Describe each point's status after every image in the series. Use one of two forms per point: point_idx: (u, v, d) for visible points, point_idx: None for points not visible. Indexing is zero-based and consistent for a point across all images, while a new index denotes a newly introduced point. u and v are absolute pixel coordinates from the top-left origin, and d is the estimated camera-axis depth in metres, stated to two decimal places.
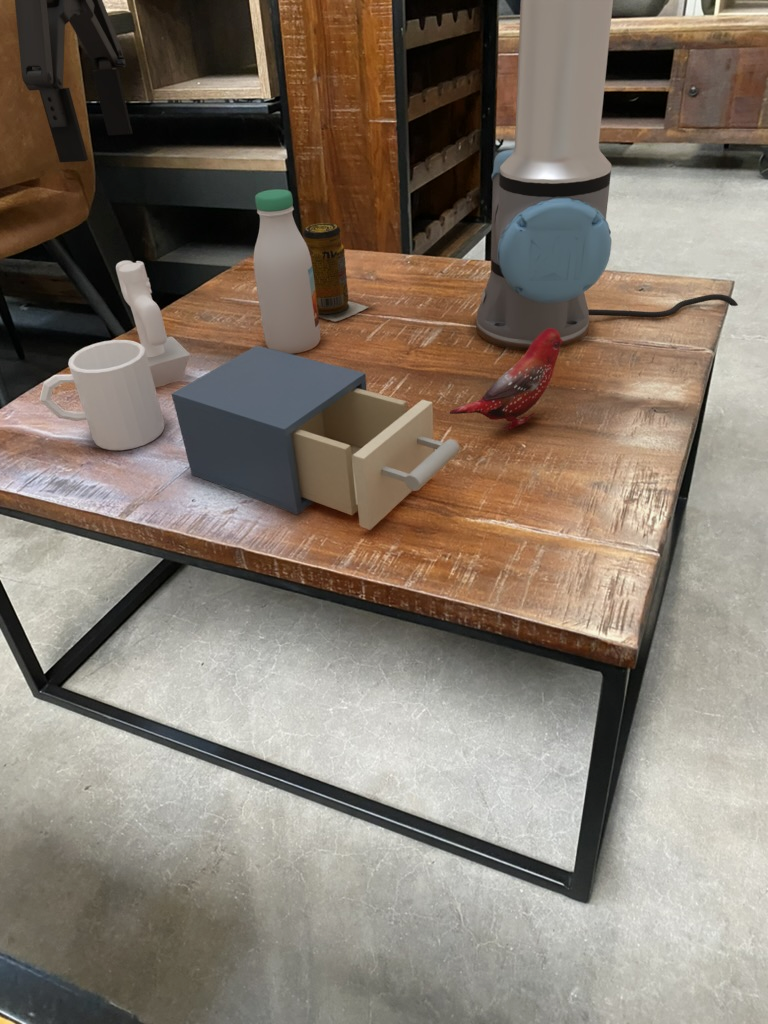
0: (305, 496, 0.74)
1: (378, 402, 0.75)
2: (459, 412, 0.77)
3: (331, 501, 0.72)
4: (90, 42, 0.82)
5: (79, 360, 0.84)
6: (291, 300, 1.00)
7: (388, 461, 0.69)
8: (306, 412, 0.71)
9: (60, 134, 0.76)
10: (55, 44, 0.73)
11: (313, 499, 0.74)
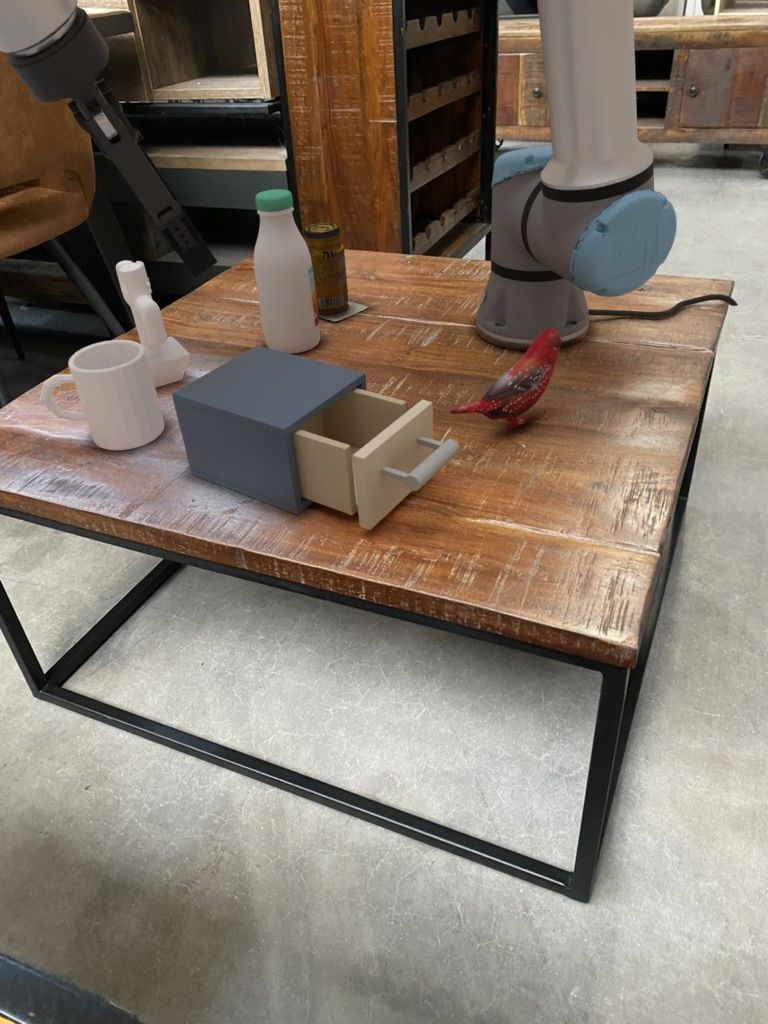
0: (305, 496, 0.74)
1: (378, 402, 0.75)
2: (459, 412, 0.77)
3: (331, 501, 0.72)
4: None
5: (79, 360, 0.84)
6: (291, 300, 1.00)
7: (388, 461, 0.69)
8: (306, 412, 0.71)
9: (188, 252, 0.72)
10: None
11: (313, 499, 0.74)
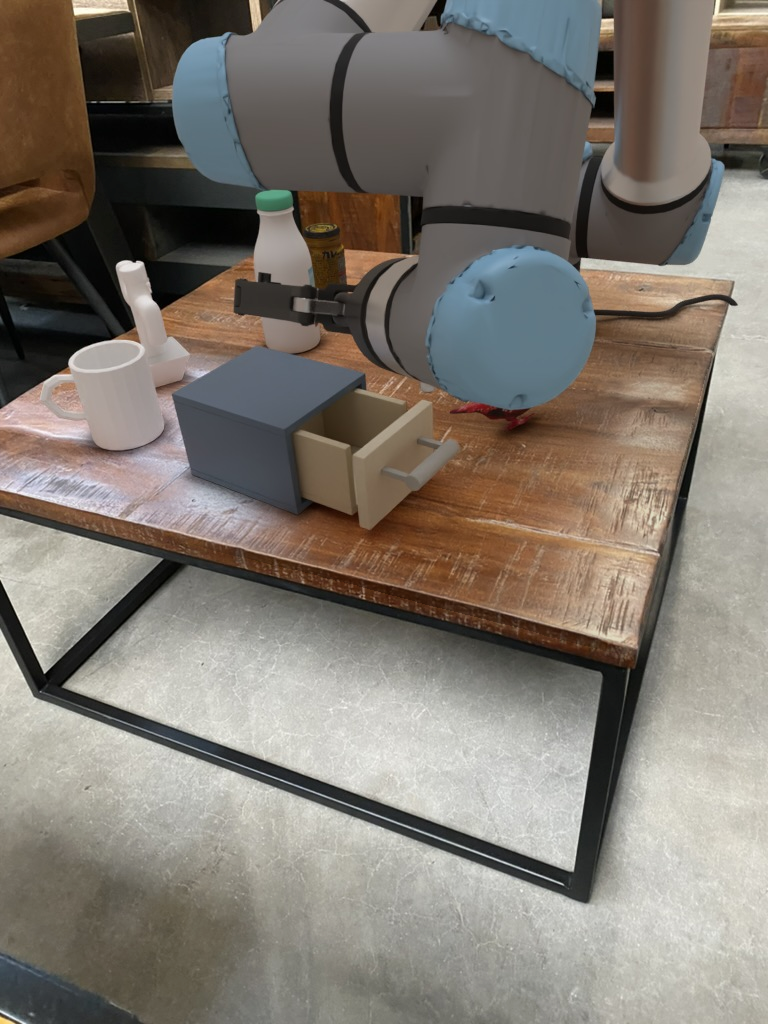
0: (305, 496, 0.74)
1: (378, 402, 0.75)
2: (459, 412, 0.77)
3: (331, 501, 0.72)
4: None
5: (79, 360, 0.84)
6: None
7: (388, 461, 0.69)
8: (306, 412, 0.71)
9: None
10: None
11: (313, 499, 0.74)
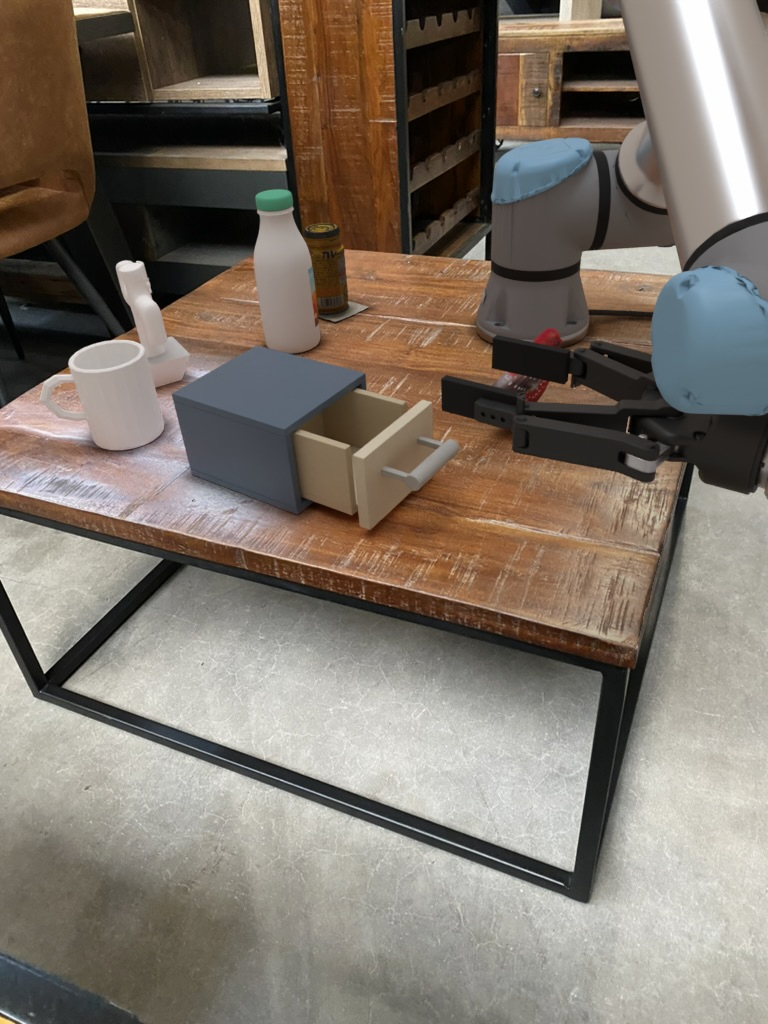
0: (305, 496, 0.74)
1: (378, 402, 0.75)
2: None
3: (331, 501, 0.72)
4: None
5: (79, 360, 0.84)
6: (291, 300, 1.00)
7: (388, 461, 0.69)
8: (306, 412, 0.71)
9: None
10: None
11: (313, 499, 0.74)
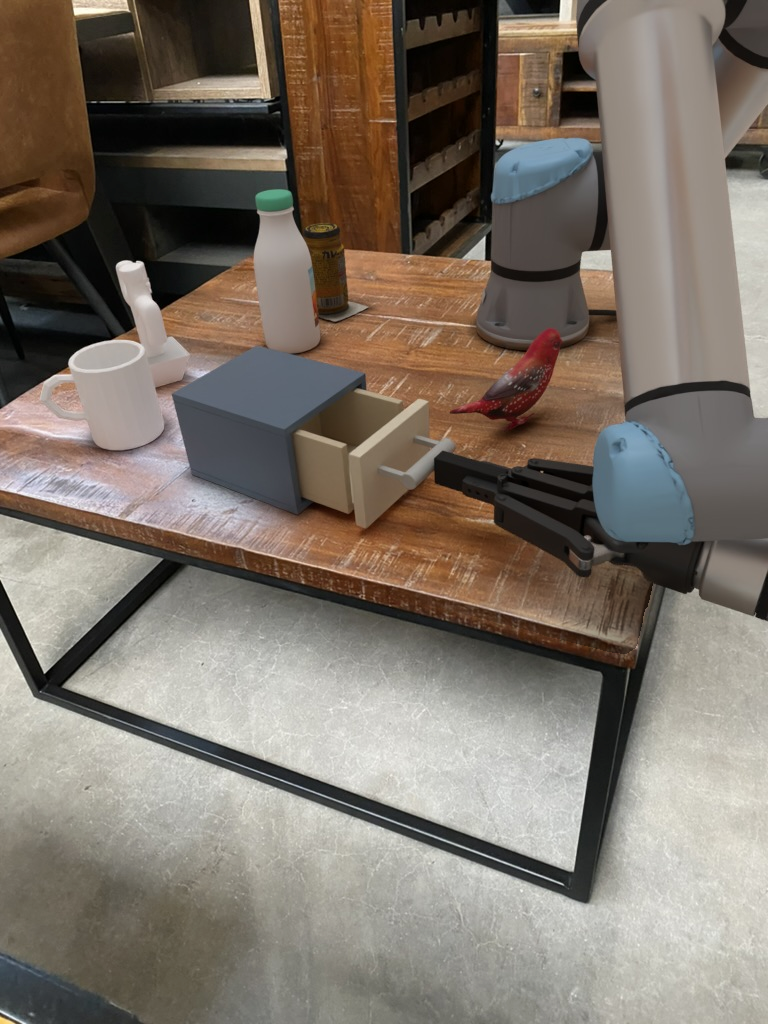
0: (302, 495, 0.74)
1: (374, 401, 0.75)
2: (459, 412, 0.77)
3: (328, 500, 0.73)
4: None
5: (79, 360, 0.84)
6: (291, 300, 1.00)
7: (385, 460, 0.70)
8: (306, 412, 0.71)
9: None
10: None
11: (309, 498, 0.74)
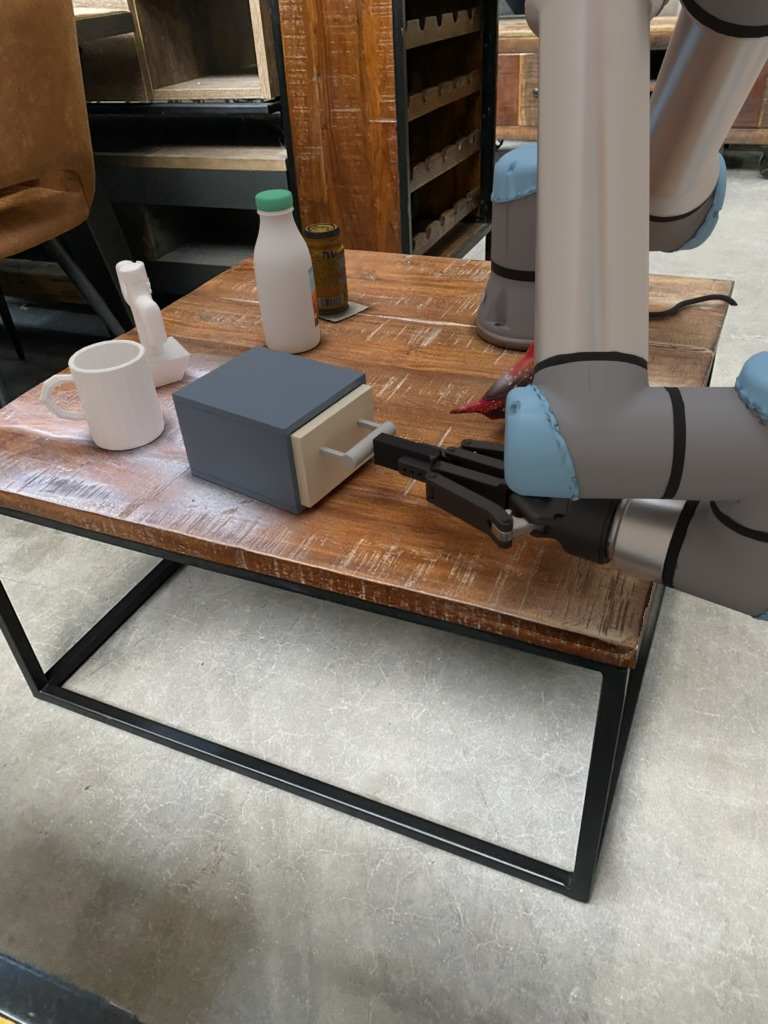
0: None
1: None
2: (459, 412, 0.77)
3: None
4: None
5: (79, 360, 0.84)
6: (291, 300, 1.00)
7: (327, 442, 0.73)
8: (306, 412, 0.71)
9: None
10: None
11: None
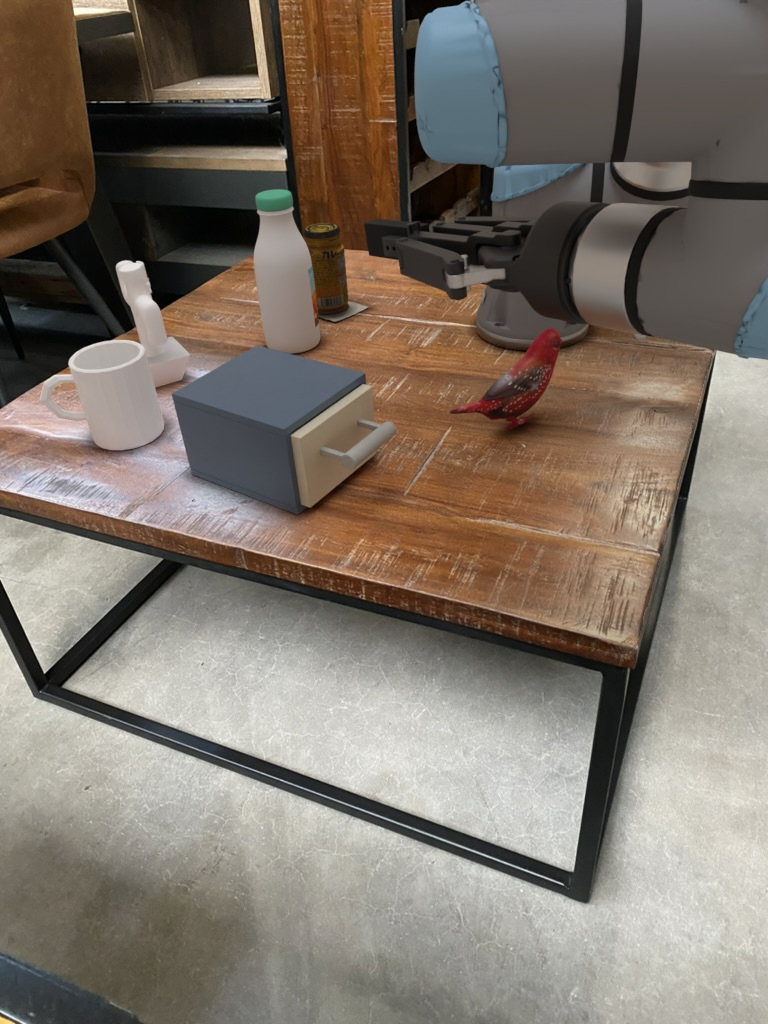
0: None
1: None
2: (459, 412, 0.77)
3: None
4: None
5: (79, 360, 0.84)
6: (291, 300, 1.00)
7: (327, 442, 0.73)
8: (306, 412, 0.71)
9: None
10: None
11: None
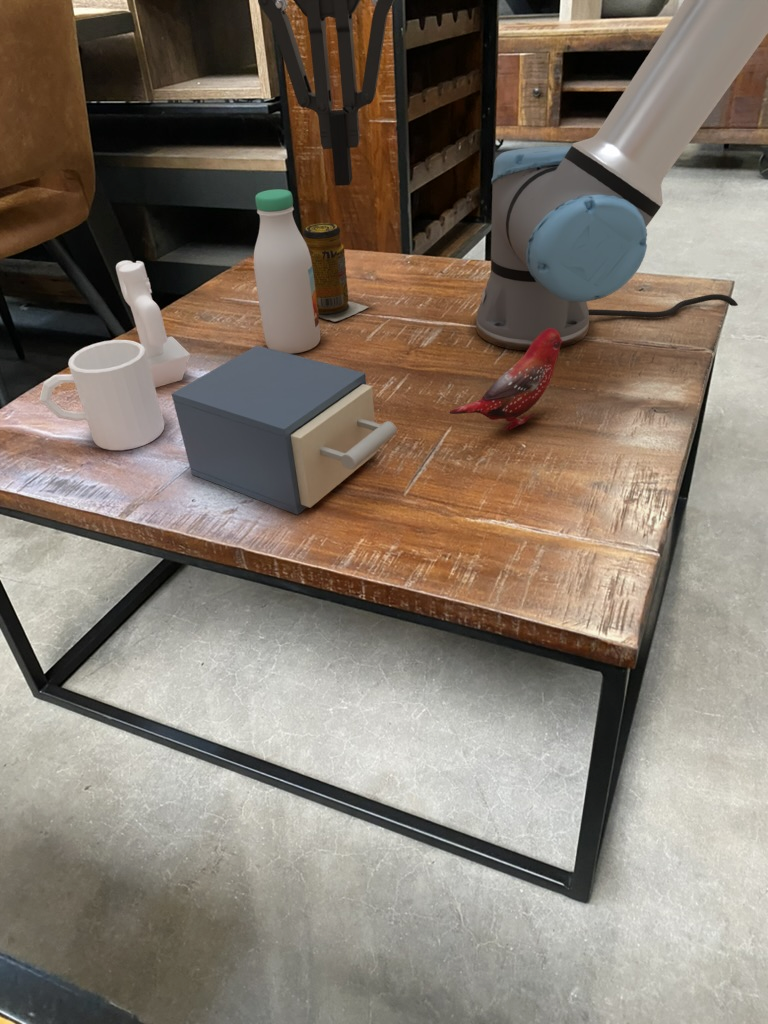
0: None
1: None
2: (459, 412, 0.77)
3: None
4: (326, 66, 0.73)
5: (79, 360, 0.84)
6: (291, 300, 1.00)
7: (327, 442, 0.73)
8: (306, 412, 0.71)
9: (348, 156, 0.78)
10: (354, 63, 0.74)
11: None
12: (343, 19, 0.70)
